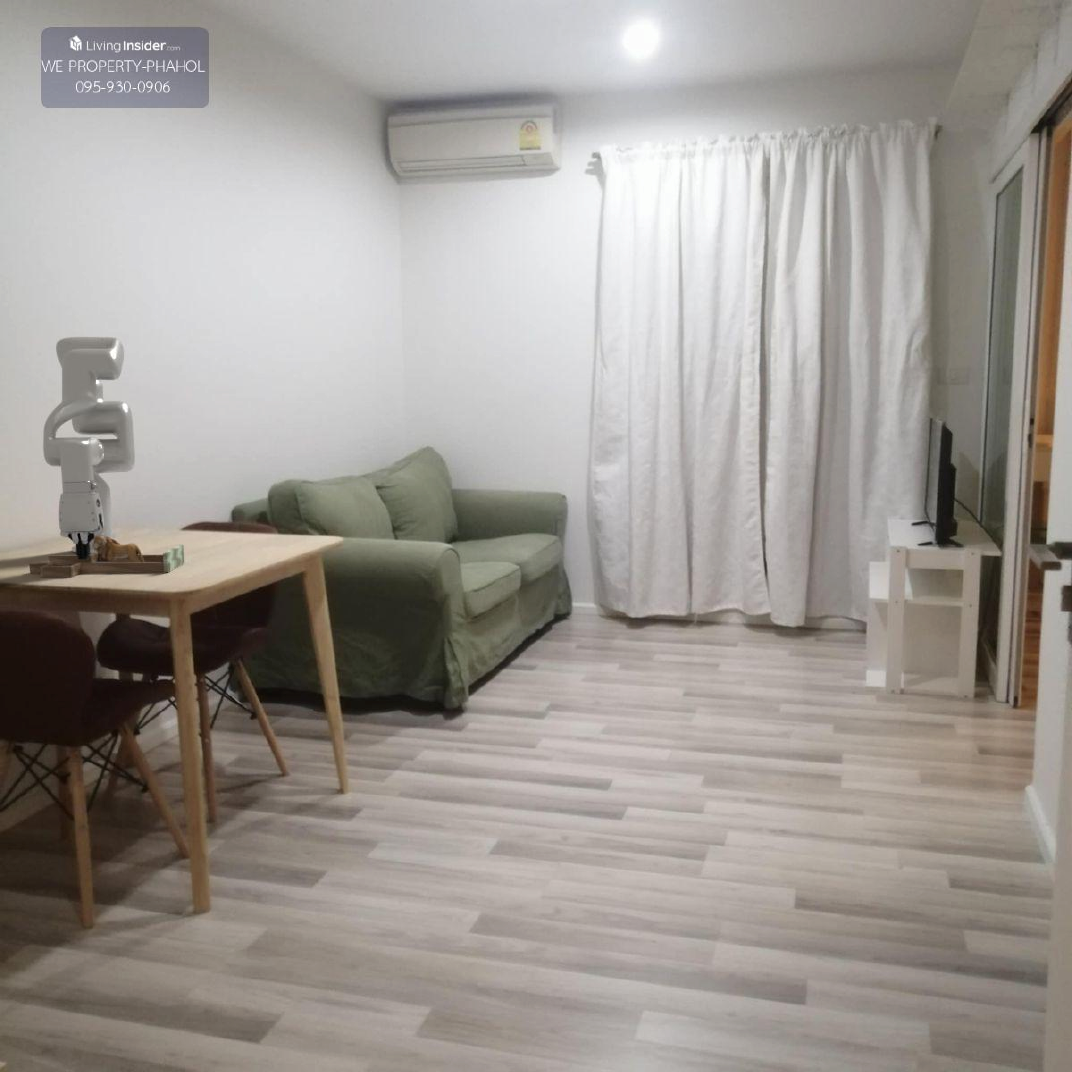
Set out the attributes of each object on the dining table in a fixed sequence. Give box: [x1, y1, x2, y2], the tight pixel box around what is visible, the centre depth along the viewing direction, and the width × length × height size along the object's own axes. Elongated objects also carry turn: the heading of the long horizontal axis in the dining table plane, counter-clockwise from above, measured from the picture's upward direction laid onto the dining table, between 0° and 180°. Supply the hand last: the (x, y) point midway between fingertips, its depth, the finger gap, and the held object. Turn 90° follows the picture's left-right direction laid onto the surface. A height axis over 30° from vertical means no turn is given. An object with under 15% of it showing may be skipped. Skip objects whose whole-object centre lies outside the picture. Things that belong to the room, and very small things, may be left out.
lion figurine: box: [92, 535, 144, 562], centre depth 267 cm, size 15×5×9 cm, turn 89°
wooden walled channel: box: [29, 544, 185, 578], centre depth 268 cm, size 22×35×5 cm, turn 91°
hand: (83, 558), depth 268 cm, fingers closed
